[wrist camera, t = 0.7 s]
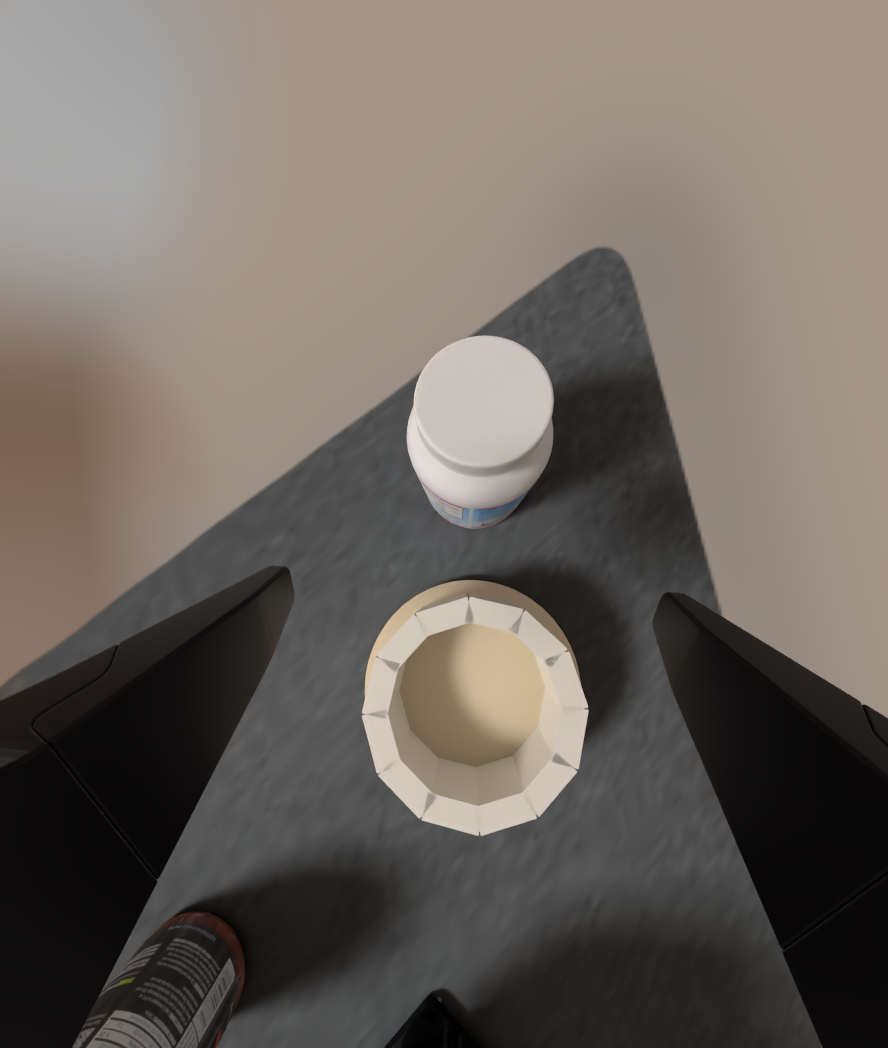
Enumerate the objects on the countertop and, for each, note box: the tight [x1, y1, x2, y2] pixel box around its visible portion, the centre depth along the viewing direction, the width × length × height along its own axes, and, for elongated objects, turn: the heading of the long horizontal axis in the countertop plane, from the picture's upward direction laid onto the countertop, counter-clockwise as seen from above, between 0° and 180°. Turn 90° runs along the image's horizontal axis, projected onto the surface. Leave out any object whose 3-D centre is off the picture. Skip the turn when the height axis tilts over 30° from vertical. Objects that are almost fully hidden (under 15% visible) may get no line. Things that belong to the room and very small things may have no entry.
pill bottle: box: [407, 336, 554, 529], centre depth 18 cm, size 6×6×11 cm
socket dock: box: [362, 580, 589, 836], centre depth 20 cm, size 12×12×4 cm
